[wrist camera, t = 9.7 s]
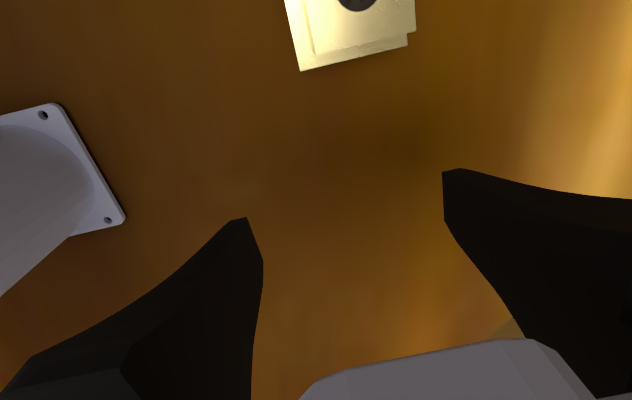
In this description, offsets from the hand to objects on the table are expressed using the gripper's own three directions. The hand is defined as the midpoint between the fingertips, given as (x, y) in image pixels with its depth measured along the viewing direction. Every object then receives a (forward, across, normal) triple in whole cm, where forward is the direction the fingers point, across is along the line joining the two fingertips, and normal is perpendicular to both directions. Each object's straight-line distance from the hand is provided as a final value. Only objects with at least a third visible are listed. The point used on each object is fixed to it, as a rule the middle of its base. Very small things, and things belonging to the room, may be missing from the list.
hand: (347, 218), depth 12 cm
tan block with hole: (+9, -2, -7) cm, 12 cm away
